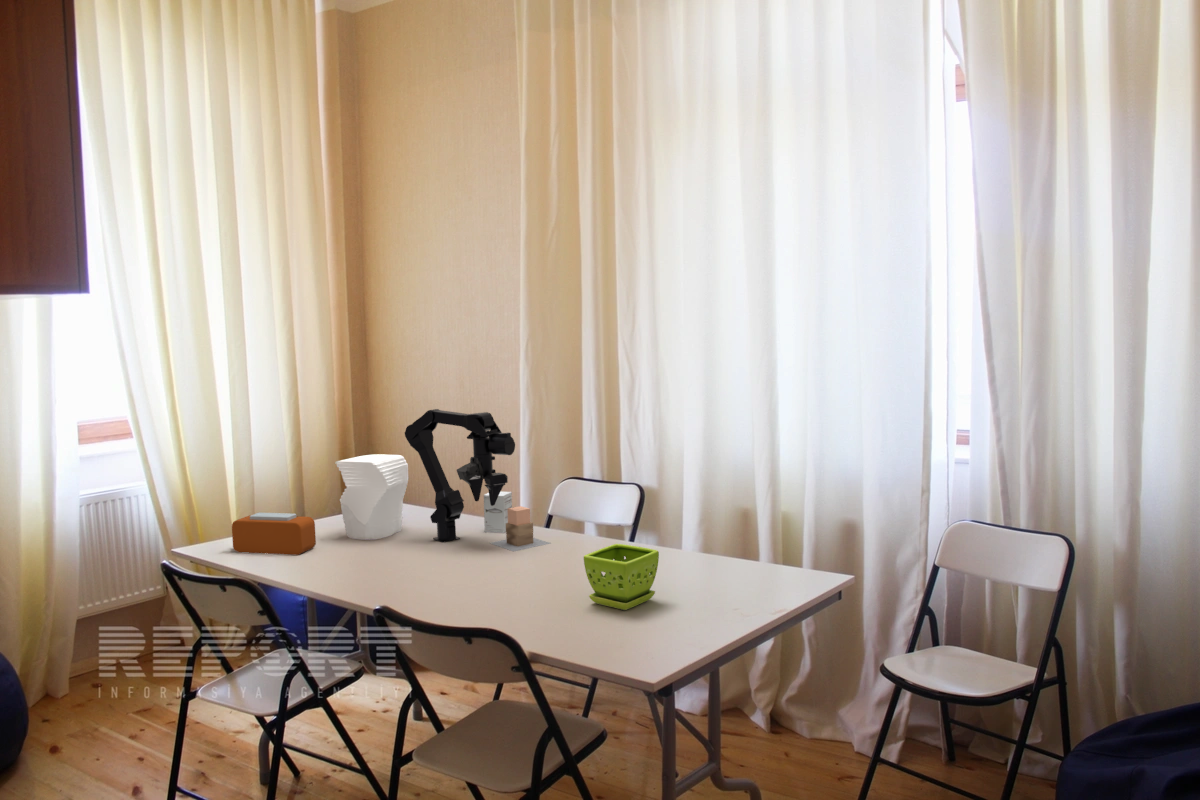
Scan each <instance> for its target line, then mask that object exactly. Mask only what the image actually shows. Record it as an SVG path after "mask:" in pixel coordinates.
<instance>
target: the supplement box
mask: <svg viewBox="0 0 1200 800" xmlns="http://www.w3.org/2000/svg"><path fill="white" fill-rule="evenodd" d="M512 493H513V492H512V491H502V490H501V491H500V493H499V496H498V498H497V500H496V503H495V505H494V506H491V504H490V498H489V492H487V493H484V494H483V514H484V515H483V517H484V518H483V520H484V521H483V522H484V523H483V524H484V533H503V534H504V533H505V534H506V523H508V510H507V509H508V508H513V498H512V497H513V496H512V495H513V494H512Z"/></svg>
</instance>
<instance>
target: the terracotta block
mask: <svg viewBox="0 0 1200 800" xmlns="http://www.w3.org/2000/svg"><path fill="white" fill-rule="evenodd" d="M507 510H508V523H510V524H513V525H522V524H527V523H530V522H531V508H529V507H526V506H521V505H520V506H515V507H512V508H508V509H507Z"/></svg>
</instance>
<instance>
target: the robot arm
mask: <svg viewBox="0 0 1200 800" xmlns="http://www.w3.org/2000/svg"><path fill="white" fill-rule="evenodd" d="M438 424H440V425H441V424H442V425H449V426H457V427H461V428H464V429H466V430H467V431H469V432H470V433H469V434H468V435H467V436H466V439H467V440H472V449H473V451H472V453H473V456H471V457H470V459H469V460H470V461H469V462H468V463H466V464H464V465H462V466H460V467H459V468H457V469H456V473H457V475H458V478H459V480H463V482H465V483H466V484H468V486H469V488H470V491H471V494H472V496H473V500H474V501H475V502H480V501H479V500H480V497H481V492H482V487H483V483H485V484H484V486H485V488H487V490H488V493H489V498H490V504H491V506H494V505H495V503H496V500H497V498H498V496H499V493H500V491H501V492H502V489H503V487H504V486H505V485H506V484H507V483H508V479H509V477H508V475H507V474H506V473H504V472H503V473H502V472H496V469H495V468H494V466H493V465H494V464H493V461H495V460H496V456H493V455H501V456H511V455H513V454H514V453H515V449H516V442H515V439H514V438H513V436H512V434H511V432H502V431H501V429H500V428H499V426H498V425H497V423H496V421H495V420H494V417H493V416H492V413H490V412H487V411H486V412H485V411H483V412H475V413H474V412H473V413H462V412H455V411H448V410H441V409H439V408H434V409H429V410H426V411H425V413H423V415H422V416H420V417H419V418H417V419H416V420H414V422H412V423H411V424H409V425H407V426H406V428H405V432H404V437H405V439H406V441H407V442H408V444H409V445H410V447H412V448H413V449H414V450H415V451H416V452H417V453H418V455H419V457H420V459H421V462H422V464H423V467H424V469H425V472H426V474H427V477H428V478H429V479H428V480H429V481H430V483H431V485H432V488H433V490H434V492H435V498H434V499H435V500H434V505H435V510H434V511H433V512H432V514H431V515H430V517H429V518H430V520H431V523H432V524H436V534H437V536H436V537H433V538H432V539H433V541H434V540H435V541H437V542H440V543H447V542H453V541H459V540H461V537H459V536H457V531H456V529H457V528H456V520H459V519H460V518H461V515H462V512H463V510H464V508H465V506H464V501H465V500H464V499H463V498H462V494H461V492H460V490H459V489H457V490H454V489H453V488H452V487H451V486H450V484H449V481H448V478H447V476H446V474H445V471H444V470H443V467H442V464H441V462H440V460H439V458H438V456H437V453H436V451H435V449H434V446H433V445H434V435H433V432H434V431H435V429H436V428H437V426H438ZM493 468H494V469H493ZM483 481H484V482H483Z"/></svg>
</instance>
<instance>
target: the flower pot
mask: <svg viewBox="0 0 1200 800" xmlns="http://www.w3.org/2000/svg"><path fill="white" fill-rule="evenodd" d="M659 553H660V551H659V550H657V549H653V548H648V547H644V546H643V547H641V546H637V545H630V544H623V543H614V544H611V545H608V546H606V547H603V548H600V549H597V550H595V551H591V552H590V553H587V554H585V555H584V556H583V564H584V570H585V573H586V574H585V575H586V577H587V579H588V582H589V584H590V586H591V588H592V590H593V591H594V592H593V593H591V594H589V595H588V597H589V598H590V600H591V601H592V602H594V603H595V604H597V605H602V606H607V607H609V608H614V609H619V610H621V611H627V610H629V609H632V608H634V607H636V606H639V605H640V604H643V603H645V602H647V601H649V600H651V599H652V598H653V596H655V594H656V591H655V590H651V588H652V586H653V584H654V581H655V579H656V575H657V572H658V566H659V559H660V554H659ZM603 573H604V574H603Z"/></svg>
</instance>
